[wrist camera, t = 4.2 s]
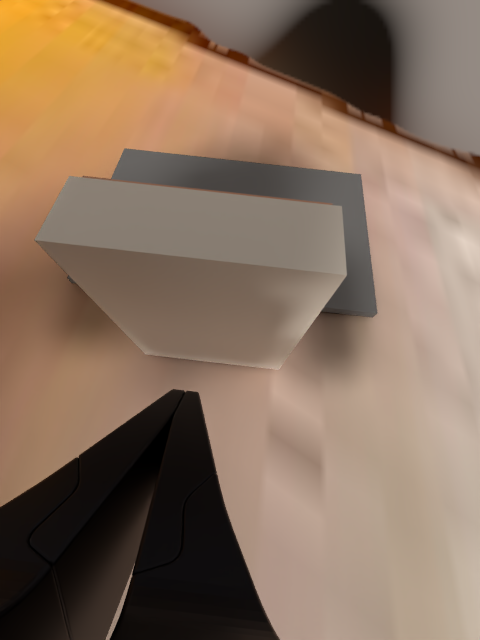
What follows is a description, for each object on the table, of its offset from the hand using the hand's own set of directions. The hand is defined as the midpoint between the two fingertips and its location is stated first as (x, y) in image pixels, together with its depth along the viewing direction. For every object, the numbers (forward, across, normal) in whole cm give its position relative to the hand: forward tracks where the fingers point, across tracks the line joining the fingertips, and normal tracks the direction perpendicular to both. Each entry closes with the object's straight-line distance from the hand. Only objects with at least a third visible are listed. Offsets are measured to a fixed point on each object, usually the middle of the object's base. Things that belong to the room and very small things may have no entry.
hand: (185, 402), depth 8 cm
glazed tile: (+8, 0, +2) cm, 8 cm away
